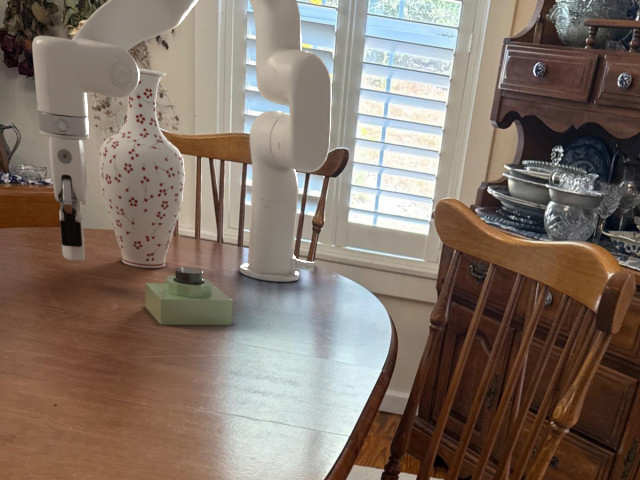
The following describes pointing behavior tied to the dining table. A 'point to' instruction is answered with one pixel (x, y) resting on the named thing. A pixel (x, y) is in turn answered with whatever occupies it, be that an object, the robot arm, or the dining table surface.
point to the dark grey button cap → (188, 275)
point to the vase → (142, 179)
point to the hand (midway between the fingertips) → (72, 240)
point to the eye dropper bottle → (75, 252)
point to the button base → (188, 303)
